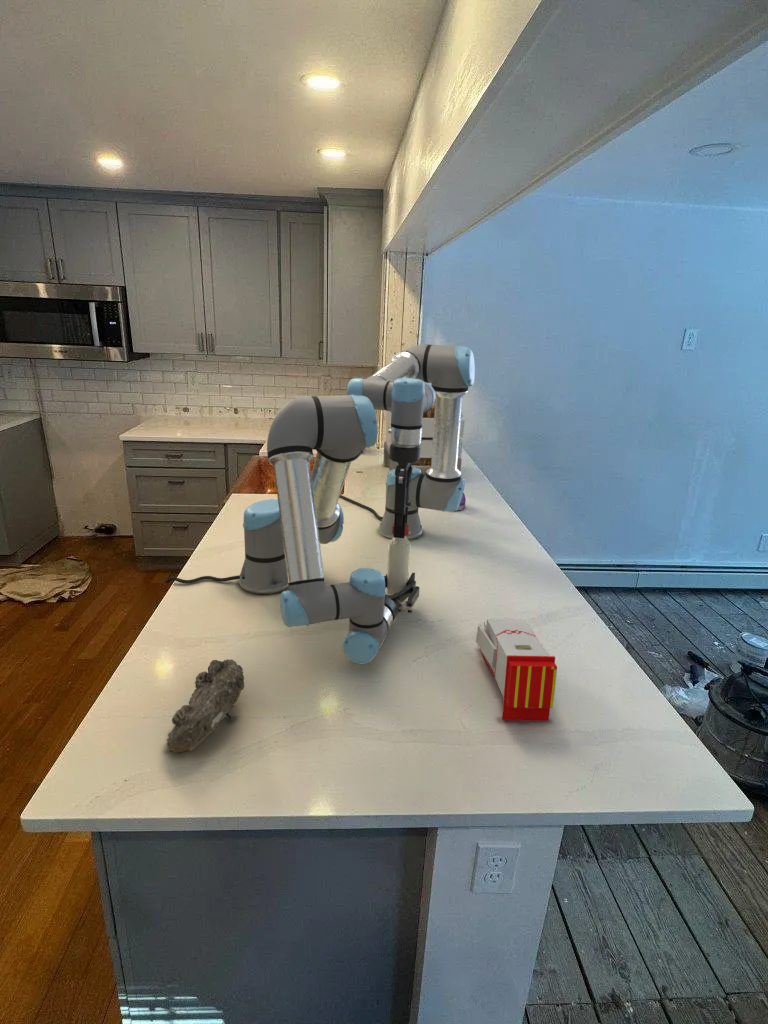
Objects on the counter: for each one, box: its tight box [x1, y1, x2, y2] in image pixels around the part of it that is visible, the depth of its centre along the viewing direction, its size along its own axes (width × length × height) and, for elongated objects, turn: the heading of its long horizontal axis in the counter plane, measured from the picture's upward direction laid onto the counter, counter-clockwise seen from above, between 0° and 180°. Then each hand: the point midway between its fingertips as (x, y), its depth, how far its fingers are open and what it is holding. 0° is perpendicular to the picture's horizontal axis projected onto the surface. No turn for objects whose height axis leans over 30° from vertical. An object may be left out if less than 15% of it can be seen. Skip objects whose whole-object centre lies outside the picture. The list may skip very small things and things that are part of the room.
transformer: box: [383, 402, 465, 472], centre depth 268 cm, size 34×33×41 cm
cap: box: [392, 523, 409, 536], centre depth 145 cm, size 4×4×2 cm
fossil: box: [166, 658, 245, 754], centre depth 106 cm, size 22×10×15 cm
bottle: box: [385, 536, 411, 604], centre depth 148 cm, size 6×6×22 cm
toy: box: [475, 618, 558, 722], centre depth 122 cm, size 12×13×30 cm
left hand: (402, 575), depth 155 cm, fingers closed on bottle, 6 cm apart
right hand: (400, 533), depth 145 cm, fingers closed on cap, 4 cm apart
